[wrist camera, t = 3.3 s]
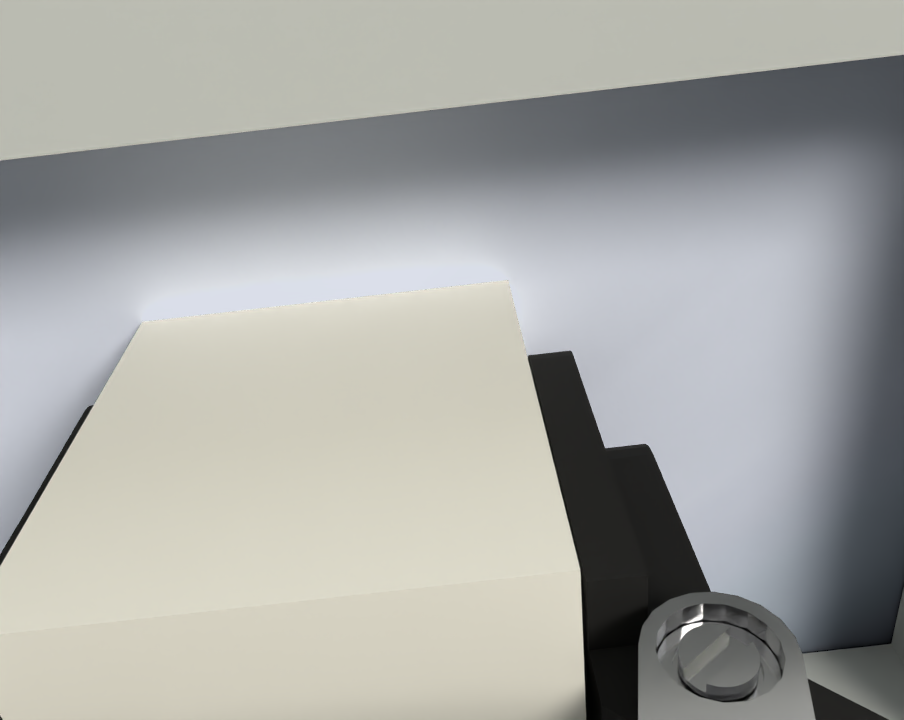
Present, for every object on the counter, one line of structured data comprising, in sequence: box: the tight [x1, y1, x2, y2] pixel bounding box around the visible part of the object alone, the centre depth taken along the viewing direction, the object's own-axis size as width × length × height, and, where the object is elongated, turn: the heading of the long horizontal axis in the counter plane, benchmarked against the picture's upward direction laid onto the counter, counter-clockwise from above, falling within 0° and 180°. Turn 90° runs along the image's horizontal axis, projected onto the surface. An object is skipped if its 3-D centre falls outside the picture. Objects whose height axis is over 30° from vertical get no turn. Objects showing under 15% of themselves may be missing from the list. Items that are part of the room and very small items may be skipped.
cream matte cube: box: [0, 280, 586, 720], centre depth 9 cm, size 4×4×5 cm
